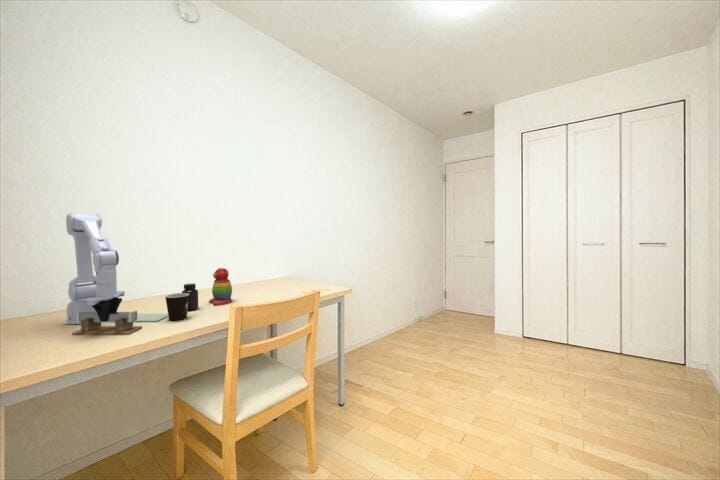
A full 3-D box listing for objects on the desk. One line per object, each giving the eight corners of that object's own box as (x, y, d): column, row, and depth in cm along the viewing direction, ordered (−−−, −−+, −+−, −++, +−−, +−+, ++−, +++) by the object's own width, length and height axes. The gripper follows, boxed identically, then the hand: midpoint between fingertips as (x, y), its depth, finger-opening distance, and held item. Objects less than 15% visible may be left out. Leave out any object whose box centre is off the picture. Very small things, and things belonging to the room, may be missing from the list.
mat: (102, 322, 123) (102, 320, 123) (121, 315, 133) (121, 313, 133) (157, 322, 123) (157, 320, 123) (172, 315, 133) (172, 313, 133)
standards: (71, 334, 109) (71, 320, 108) (89, 328, 116) (88, 314, 115) (128, 334, 109) (127, 320, 109) (142, 328, 116) (141, 314, 116)
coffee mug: (178, 322, 123) (178, 298, 123) (160, 321, 125) (160, 297, 124) (199, 314, 134) (198, 292, 134) (182, 313, 136) (182, 291, 136)
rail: (77, 322, 110) (76, 313, 110) (85, 319, 114) (85, 310, 113) (130, 322, 111) (130, 313, 110) (137, 319, 114) (137, 310, 114)
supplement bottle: (201, 308, 143) (200, 283, 143) (186, 312, 138) (186, 286, 137) (193, 306, 147) (192, 282, 147) (178, 310, 141) (178, 284, 141)
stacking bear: (207, 302, 156) (207, 268, 155) (228, 299, 163) (227, 266, 162) (214, 306, 148) (214, 270, 147) (235, 302, 155) (235, 268, 154)
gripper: (101, 287, 104) (102, 326, 105) (132, 279, 119) (133, 314, 119) (80, 287, 104) (81, 326, 105) (113, 279, 119) (114, 314, 119)
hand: (107, 319), depth 112 cm, fingers closed on rail, 3 cm apart
